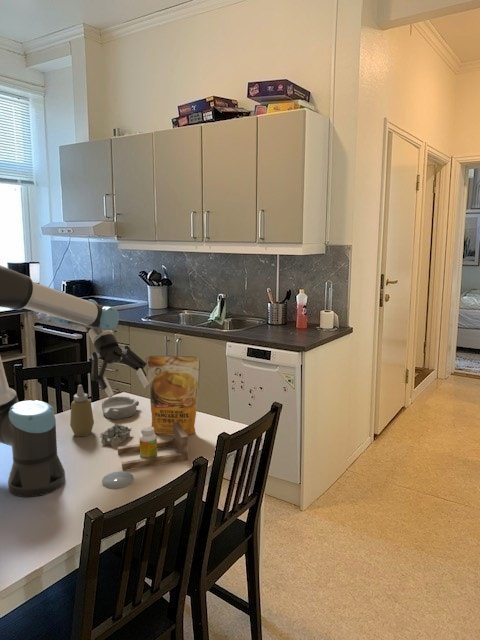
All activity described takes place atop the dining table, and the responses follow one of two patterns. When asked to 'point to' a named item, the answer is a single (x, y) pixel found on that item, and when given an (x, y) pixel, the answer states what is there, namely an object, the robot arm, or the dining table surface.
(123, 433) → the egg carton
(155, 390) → the pancake mix bag
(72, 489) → the dining table surface
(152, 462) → the lane rack
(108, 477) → the coaster
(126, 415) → the dish
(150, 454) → the supplement bottle
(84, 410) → the squeeze bottle
